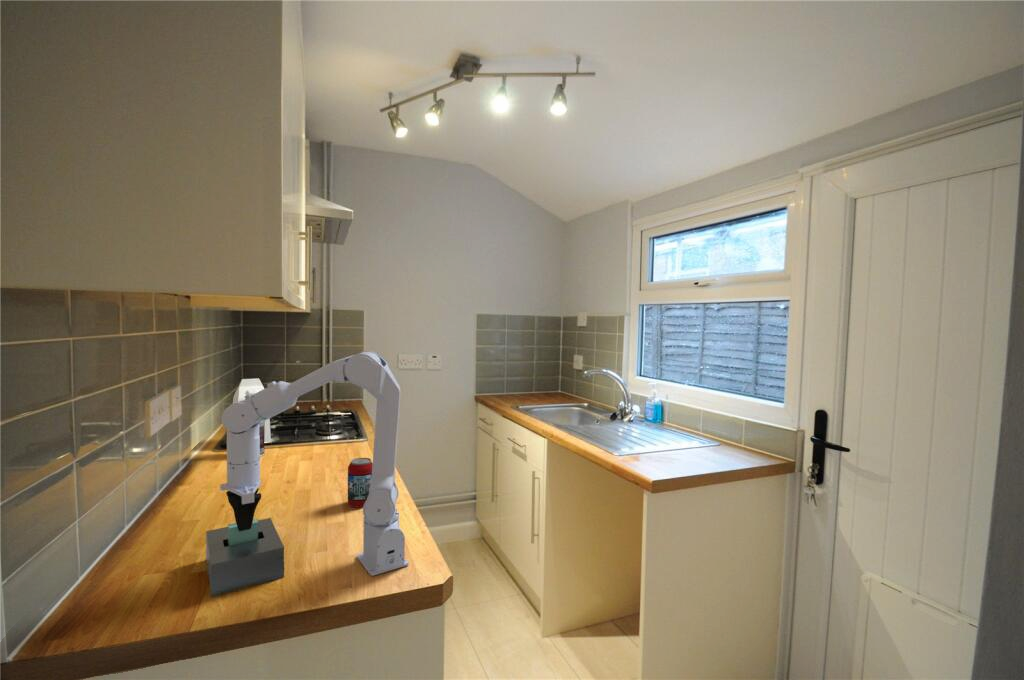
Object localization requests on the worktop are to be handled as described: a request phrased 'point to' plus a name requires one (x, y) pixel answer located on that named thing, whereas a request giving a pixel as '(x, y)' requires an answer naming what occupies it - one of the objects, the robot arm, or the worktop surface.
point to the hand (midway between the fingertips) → (243, 527)
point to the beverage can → (359, 481)
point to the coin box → (243, 559)
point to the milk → (252, 387)
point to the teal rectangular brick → (242, 533)
